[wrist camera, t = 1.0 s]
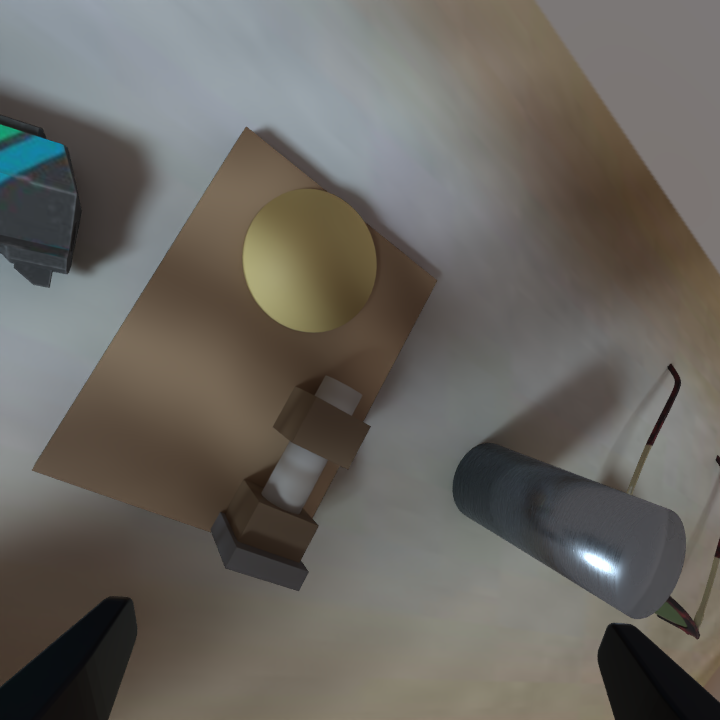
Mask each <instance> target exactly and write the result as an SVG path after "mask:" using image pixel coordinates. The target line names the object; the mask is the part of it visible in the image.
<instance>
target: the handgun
mask: <svg viewBox="0 0 720 720" xmlns="http://www.w3.org/2000/svg"><path fill="white" fill-rule="evenodd" d="M81 211H82V210H81V206H80V201H79V197H78V192H77V187H76V183H75V179H74V174H73V169H72V165H71V160H70V155H69V151H68V148H67V147H66V146H64V145H63V144H60V143H56V142H53V141H50V140H47V139H46V137H45V134H44V132H43V129H42V128H39V127H36V126H33V125H30V124H27V123H24V122H21V121H18V120H15V119H12V118H9V117H6V116H3V115H0V253H1V254H2V255H3V256H4V257H5V258H6V259H7V260H8V261H9V262H10V263H15V264H14V268H15V269H16V270H17V271H18V272H19V273H20V274H22V275H23V276H24V277H25V278H26V279H27V280H28V281H30V282H31V283H32V284H33V285H38V286H43V287H48V288H50V283H51V277H52V272H58V273H63V274H68V273H69V271H70V268H71V264H72V255H73V250H74V246H75V241H76V237H77V232H78V227H79V222H80V217H81Z"/></svg>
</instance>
